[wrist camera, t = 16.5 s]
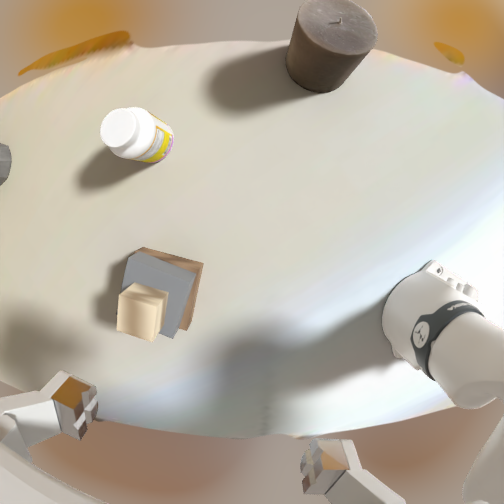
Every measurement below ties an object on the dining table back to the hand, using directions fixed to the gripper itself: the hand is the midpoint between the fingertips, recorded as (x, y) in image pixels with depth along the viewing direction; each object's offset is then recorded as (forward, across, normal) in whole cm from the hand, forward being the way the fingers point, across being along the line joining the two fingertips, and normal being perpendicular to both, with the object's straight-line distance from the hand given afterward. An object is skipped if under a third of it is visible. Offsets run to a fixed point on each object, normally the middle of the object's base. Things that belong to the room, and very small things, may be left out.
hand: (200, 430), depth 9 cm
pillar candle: (+35, -4, -30) cm, 47 cm away
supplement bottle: (+35, +17, -12) cm, 41 cm away
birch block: (+28, +11, +10) cm, 31 cm away
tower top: (+32, +11, +9) cm, 34 cm away
